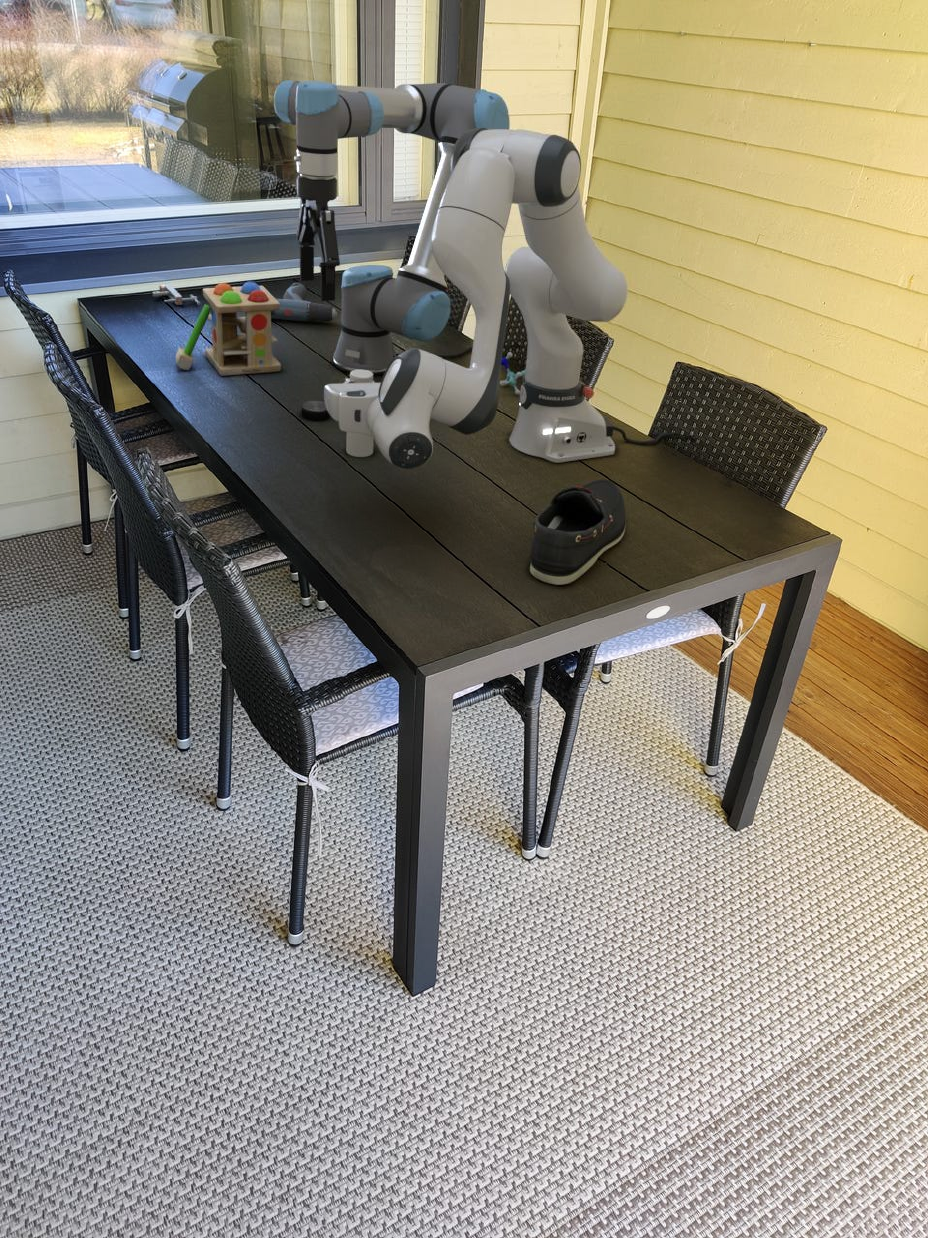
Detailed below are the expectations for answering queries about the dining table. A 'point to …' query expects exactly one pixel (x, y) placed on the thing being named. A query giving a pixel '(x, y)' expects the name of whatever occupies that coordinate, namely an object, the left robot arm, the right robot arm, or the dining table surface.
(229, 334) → the pounding bench toy
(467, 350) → the left robot arm
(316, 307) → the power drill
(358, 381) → the jar
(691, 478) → the dining table surface
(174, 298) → the clamp
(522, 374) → the molecular model
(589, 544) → the boat shoe
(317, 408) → the lid
